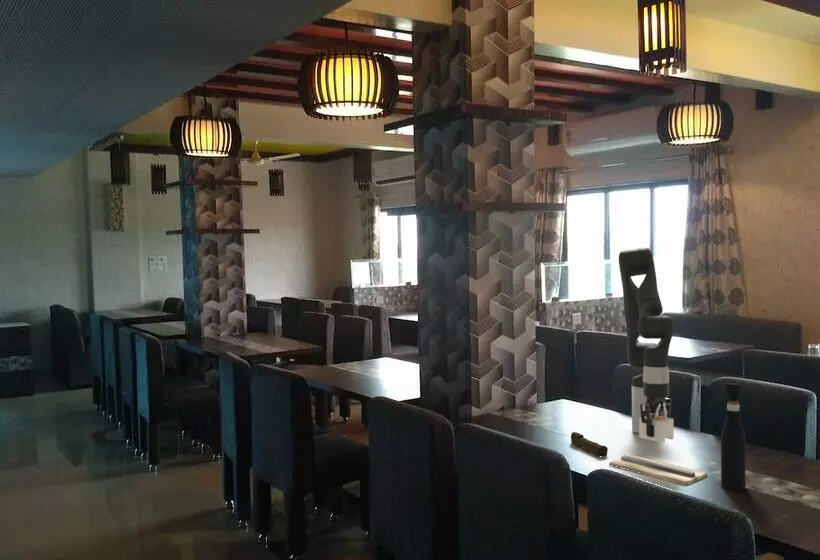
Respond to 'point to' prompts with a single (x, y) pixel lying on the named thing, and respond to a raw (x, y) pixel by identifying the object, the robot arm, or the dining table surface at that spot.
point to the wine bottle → (733, 443)
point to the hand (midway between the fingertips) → (656, 434)
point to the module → (658, 429)
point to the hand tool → (588, 444)
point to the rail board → (659, 469)
